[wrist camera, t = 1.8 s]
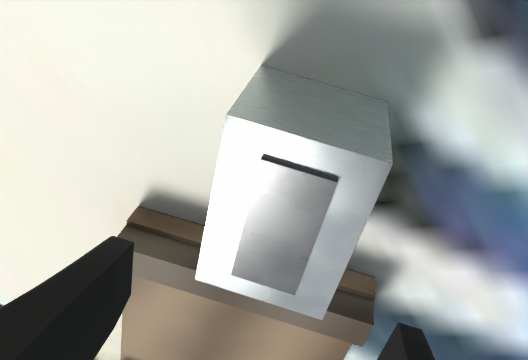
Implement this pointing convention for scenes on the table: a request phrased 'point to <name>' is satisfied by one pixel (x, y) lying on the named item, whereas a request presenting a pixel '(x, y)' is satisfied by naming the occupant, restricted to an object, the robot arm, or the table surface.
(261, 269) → the block
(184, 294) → the board
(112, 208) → the table surface
